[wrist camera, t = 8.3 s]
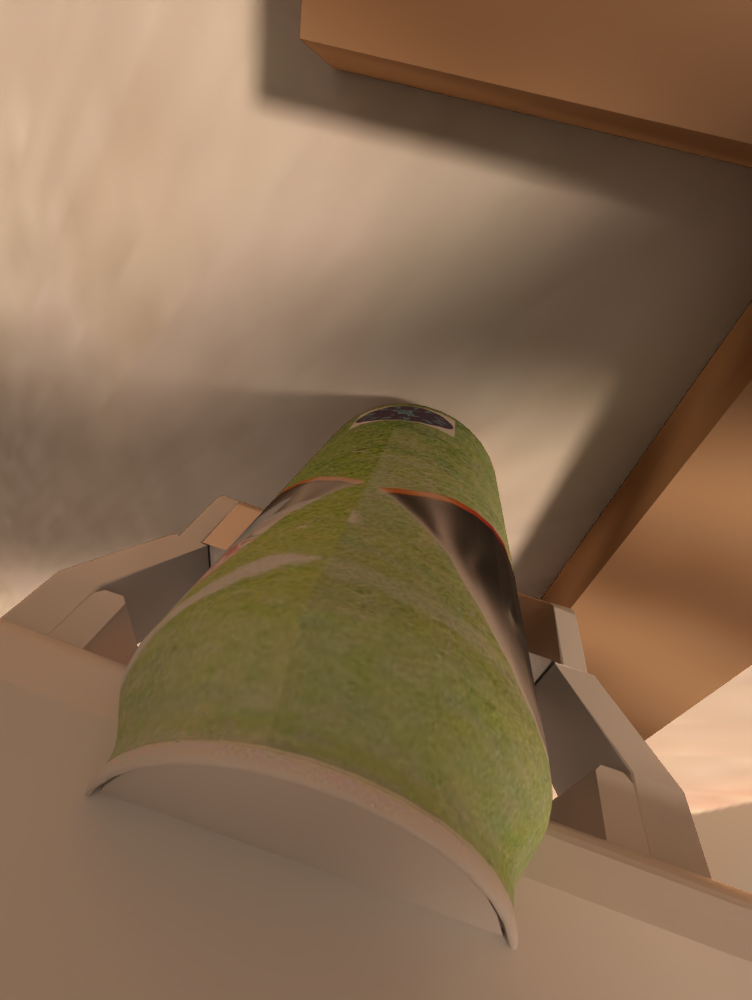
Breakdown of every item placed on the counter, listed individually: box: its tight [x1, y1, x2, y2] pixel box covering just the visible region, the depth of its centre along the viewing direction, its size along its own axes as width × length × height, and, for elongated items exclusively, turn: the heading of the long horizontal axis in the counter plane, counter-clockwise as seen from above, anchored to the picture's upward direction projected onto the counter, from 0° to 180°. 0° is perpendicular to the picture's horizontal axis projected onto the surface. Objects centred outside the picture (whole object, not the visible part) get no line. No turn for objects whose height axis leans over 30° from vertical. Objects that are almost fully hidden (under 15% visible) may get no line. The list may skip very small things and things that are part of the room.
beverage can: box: [84, 404, 553, 950], centre depth 9 cm, size 6×7×12 cm
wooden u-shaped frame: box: [300, 0, 752, 741], centre depth 13 cm, size 24×17×2 cm
